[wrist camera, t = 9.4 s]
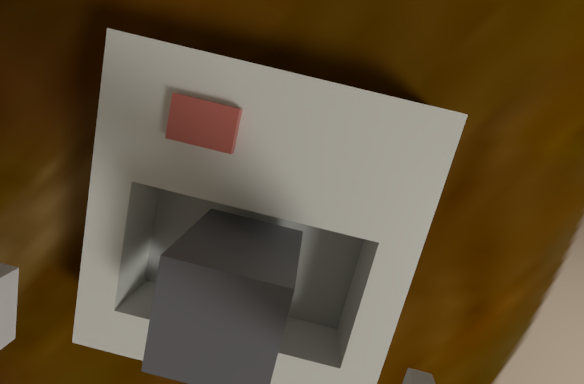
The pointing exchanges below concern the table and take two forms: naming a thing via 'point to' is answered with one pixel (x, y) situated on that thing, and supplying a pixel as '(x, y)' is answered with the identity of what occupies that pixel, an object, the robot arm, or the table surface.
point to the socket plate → (260, 195)
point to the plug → (222, 301)
